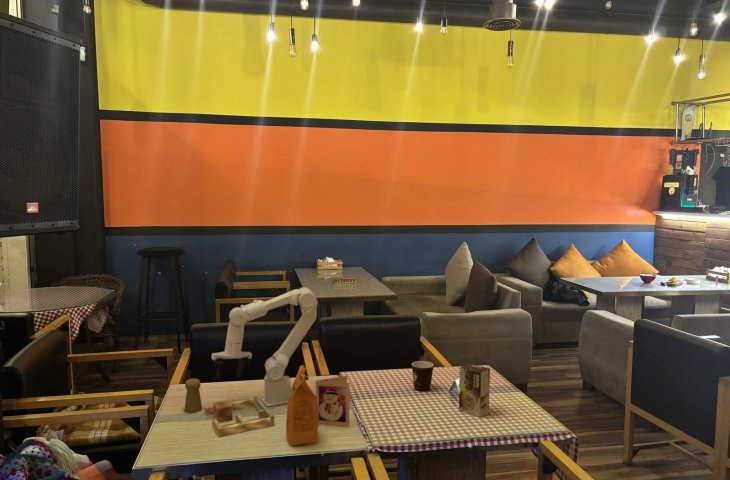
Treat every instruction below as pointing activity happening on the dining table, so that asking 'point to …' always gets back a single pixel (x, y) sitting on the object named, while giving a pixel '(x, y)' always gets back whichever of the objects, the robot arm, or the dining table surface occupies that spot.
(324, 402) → the greeting card
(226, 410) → the walnut block
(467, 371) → the coffee box
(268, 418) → the trap lane
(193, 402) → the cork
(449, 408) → the dining table surface
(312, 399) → the coffee package
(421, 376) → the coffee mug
